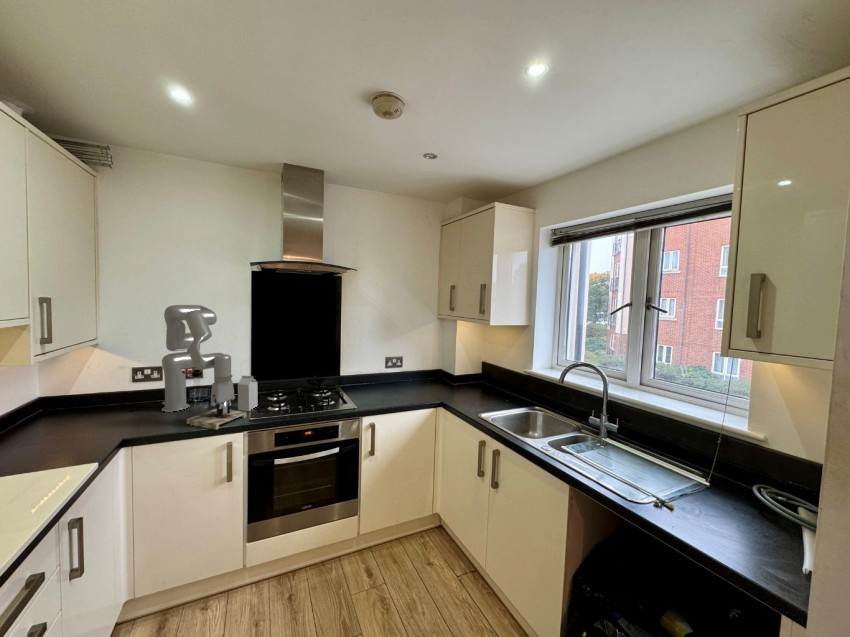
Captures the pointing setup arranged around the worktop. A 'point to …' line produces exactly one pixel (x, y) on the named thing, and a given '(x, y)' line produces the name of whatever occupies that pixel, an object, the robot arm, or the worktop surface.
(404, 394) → the worktop surface
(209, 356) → the robot arm
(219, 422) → the keyhole plate
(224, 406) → the peg
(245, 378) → the milk carton
